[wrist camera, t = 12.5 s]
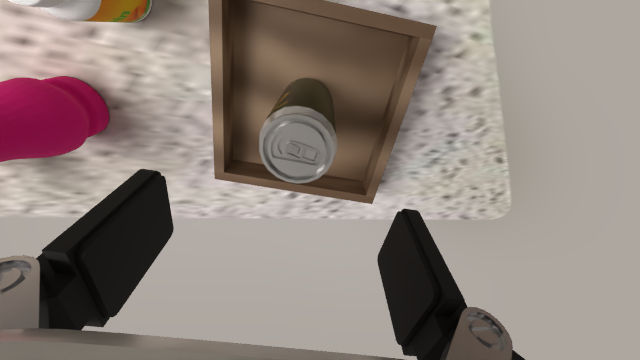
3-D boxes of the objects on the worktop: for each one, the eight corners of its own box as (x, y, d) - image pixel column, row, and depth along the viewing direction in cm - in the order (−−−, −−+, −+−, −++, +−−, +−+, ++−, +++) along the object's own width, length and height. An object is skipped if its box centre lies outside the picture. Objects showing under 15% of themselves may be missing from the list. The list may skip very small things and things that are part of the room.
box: (225, -18, 22) (207, -27, 19) (420, 26, 24) (436, 26, 20) (226, 162, 31) (214, 178, 28) (367, 185, 33) (372, 203, 29)
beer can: (340, 87, 26) (351, 128, 16) (322, 134, 28) (321, 195, 18) (290, 68, 25) (266, 97, 15) (276, 118, 28) (247, 172, 17)
